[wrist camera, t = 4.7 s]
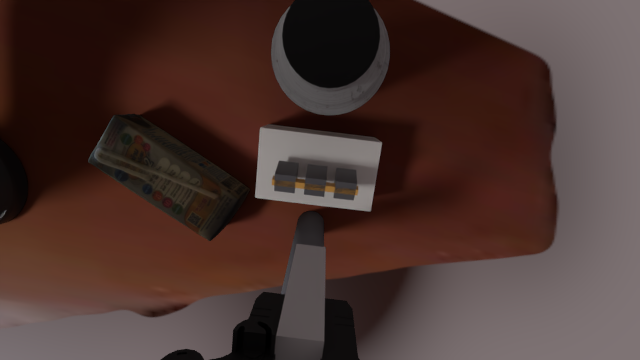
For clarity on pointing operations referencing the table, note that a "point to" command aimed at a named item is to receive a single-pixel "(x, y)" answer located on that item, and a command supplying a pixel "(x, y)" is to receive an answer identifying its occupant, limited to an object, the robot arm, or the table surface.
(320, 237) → the post
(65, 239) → the table surface
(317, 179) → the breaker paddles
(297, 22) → the thermos bottle
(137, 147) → the beverage carton
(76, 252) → the table surface
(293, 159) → the breaker box
